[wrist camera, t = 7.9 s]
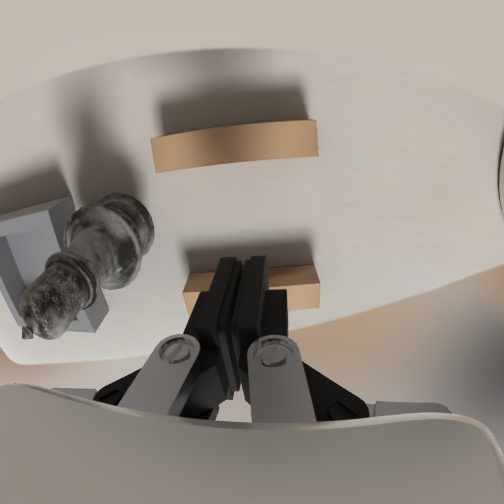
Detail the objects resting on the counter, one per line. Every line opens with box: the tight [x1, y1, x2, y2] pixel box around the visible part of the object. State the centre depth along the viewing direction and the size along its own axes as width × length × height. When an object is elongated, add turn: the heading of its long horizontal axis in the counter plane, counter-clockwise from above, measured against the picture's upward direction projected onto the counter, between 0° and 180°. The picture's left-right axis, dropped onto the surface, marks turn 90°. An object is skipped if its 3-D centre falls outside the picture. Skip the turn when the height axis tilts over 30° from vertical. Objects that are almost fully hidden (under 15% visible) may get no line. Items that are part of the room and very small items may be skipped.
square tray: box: [0, 196, 109, 333], centre depth 20 cm, size 10×10×3 cm
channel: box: [150, 119, 320, 316], centre depth 18 cm, size 9×12×2 cm
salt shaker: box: [19, 194, 154, 340], centre depth 15 cm, size 6×6×12 cm
